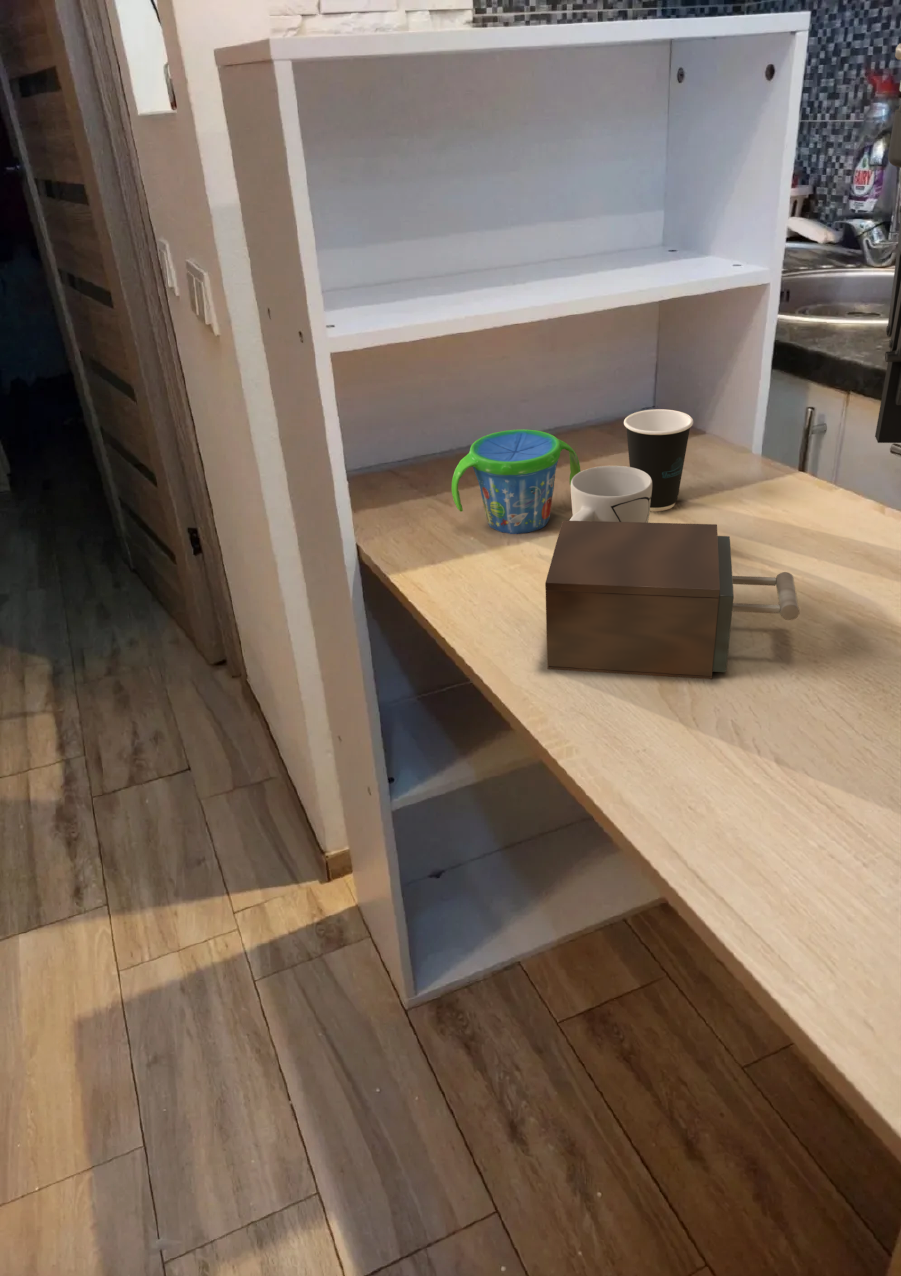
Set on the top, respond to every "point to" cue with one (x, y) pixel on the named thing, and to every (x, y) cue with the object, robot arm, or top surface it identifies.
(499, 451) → the snack cup
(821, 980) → the top surface
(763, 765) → the top surface
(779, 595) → the drawer
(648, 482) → the mug
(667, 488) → the dixie cup
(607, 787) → the top surface
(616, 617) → the cabinet
